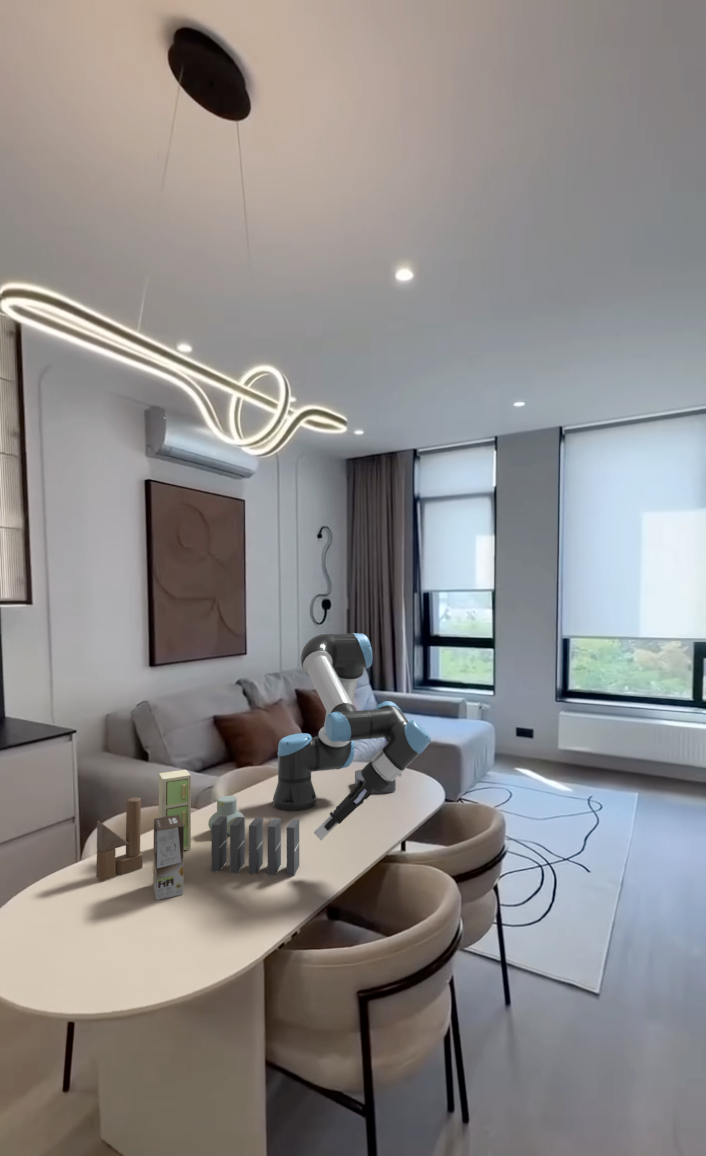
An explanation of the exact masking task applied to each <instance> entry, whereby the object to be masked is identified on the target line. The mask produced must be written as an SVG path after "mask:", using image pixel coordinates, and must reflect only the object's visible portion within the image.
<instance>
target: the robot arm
mask: <svg viewBox="0 0 706 1156" xmlns="http://www.w3.org/2000/svg"><path fill="white" fill-rule="evenodd" d="M300 664H301V668H302V670H303V672H304V674H305V676H307V677H309V678H310V679H311V682H312V684H313V686H314V688H315V690H316V693H317V694H318V696H319V698H320V701H321V702H322V705H323V706H324V709H325V711H326V713H325V718H324V719H325V720H324V725H323V726H322V727H321V728H320V730H319V731H318V736H314V737H312V735H311V734H309V733H306V732H305V733H304V732H303V733H294V734H290V735H286V736H285V737H284V736H283V738H281V739H280V740H279V741H278V747H277V774H278V775H277V784H276V787H275V791H274V794H273V799H272V801H273V802H272V804H273V807H274V808H276V809H278V810H282V811H288V812H289V811H292V812H293V811H295V812H296V811H302V810H308V809H310V808H313V807H315V806H316V805H317V795H316V791H315V789H314V785H313V782H312V772H322V771H332V770H341V769H346V768H348V767H349V766H351V764H352V763H353V761H354V758H355V748H356V747H355V742H354V741H361V740H371V739H372V740H373V739H382V738H385V739H386V741H387V744H386V745H385V746H384V747H382V749H380V750H379V751H378V752H377V754H375V755H374V757H373V758H372V759H371V761H369V762H368V763H367V764H366V765H365V766H364V767H362V769H361V770H362V771H361V774H362V776H363V778H364V779H365V780H364V781H362V780H360V781H359V782H358V783H357V785H356V786H355V787H354V788H352V789H351V791H350V792H349V793H348V794H347V796H346V797H345V798H344V799H343V800H342V801H341V802H340V803H339V804H338V805H337V806H336V807H335V809H334V810H333V812H332V811H330V812H329V816H328V817H326V819H325V820H323V822H321V824H320V825H319V826H318V827H317V828H316V829H315V830H314V831H313V834H315V836H316V837H317V838H318V839H319V840H320V841H322V840H324V838H325V837H326V836H327V835H328V834H329V833H330V832H332V830H333V829H334V828H335V827H336V826H337V825H340V824H341V823H342V822H343V821H344V820H345V819H346V818H347V817H349V816H350V815H351V814H352V813H353V812H354V811H355V810H356V809H357V808H358V807H360V805H363V804H364V801H365V800H368V798H369V797H370V796H371V794H370V793H371V790H372V789H373V790H375V791H376V792H379V793H378V794H382V793H381V792H383V791H384V790H385V789H386V788H387V787H388V786H389V785H390V781H393V780H394V779H395V778H396V779H397V777H399V778H401V777H402V775H403V774H402V772H404V770H405V769H406V768H407V767H408V766H410V764H411V763H413V761H414V760H416V759H417V758H418V757H419V756H420V755H421V754H422V753H423V752H424V750H425V749H426V748H427V747H428V746H429V745H430V743H431V742H432V739H431V738H432V737H431V735H430V734H429V733H428V731H427V730H426V729H425V728H424V727H423V726H422V724H421V723H419V722H418V721H416V720H414V719H411V720H410V721H409V720H408V719H407V718H406V716H405V714H404V712H403V710H402V709H401V708H400V707H399V706H398V704H396V703H395V702H394V701H393V702H392V701H390V700H389V701H387V700H386V701H382V702H381V703H378V704H377V705H376V706H375V708H374V709H365V710H357V709H356V707H355V705H354V699H355V695H356V689H357V688H356V687H357V684H358V679H360V678H362V677H363V675H364V671H365V670H364V669H370V668H371V666H372V665H373V649H372V645H371V642H370V639H369V637H368V636H367V635H366V634H364V633H355V632H352V633H322V634H318V635H316V636H314V637H312V638H310V639H309V640H307V642H306V643H305V645H304V647H303V648H302V651H301V654H300Z"/></svg>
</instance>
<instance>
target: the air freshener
mask: <svg viewBox="0 0 706 1156" xmlns="http://www.w3.org/2000/svg"><path fill="white" fill-rule="evenodd" d="M237 807H238V806H237V797H235V796H234V795H224V796H220V797H218V798H217V799H216V812H215V813H213V814H212V815H211V816H210V818H209V820H208V823H207V824H208V827H209V830H210V832H212V824H213V823H214V822H215V821H216V820H217V819H218V818H219V817H220V816H226V817H227V836H230V825H231V824H232V823H233V821H234V820H235V819H236V818H237V817H245V816H244V814H243V813H242V812H240V811H239V810H238V809H237Z"/></svg>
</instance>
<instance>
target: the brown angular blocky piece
mask: <svg viewBox="0 0 706 1156" xmlns="http://www.w3.org/2000/svg"><path fill="white" fill-rule="evenodd" d="M125 804H126V805H125V806H126V809H125V810H126V812H125V813H126V814H125V839H123V838H122V837H121V835H119V834H117V833H116V832H114V831H113V830H112V829H110V828H109V827H108V826H107V825H105V824H104V823H102V822H101V821H100V820H97V821H96V875H95V876H96V878H97V880H99V881H100V882H104V881H107V880H108V881H109V880H110V879H114V878H115V877H116V875H124V874H125V875H126V874H127V873H131V872H134V871H137V870H139V869H142V868H143V863H144V862H143V854H142V853H141V819H142V817H141V815H142V814H141V813H142V812H141V811H142V808H141V807H142V799H141V797H139V796H135V797H130V798H127V799H126V803H125ZM122 847H125V854H122V855H119V856H116V853H117V852H116V850H117V849H118V848H122Z"/></svg>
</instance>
